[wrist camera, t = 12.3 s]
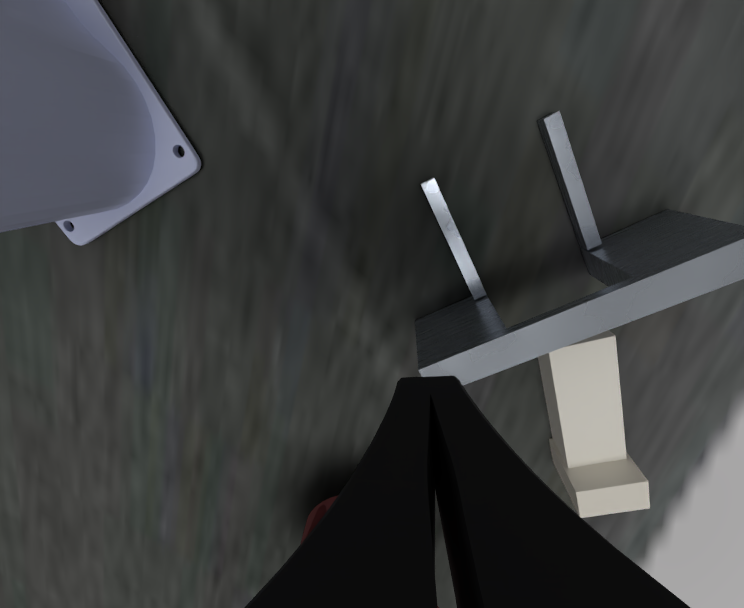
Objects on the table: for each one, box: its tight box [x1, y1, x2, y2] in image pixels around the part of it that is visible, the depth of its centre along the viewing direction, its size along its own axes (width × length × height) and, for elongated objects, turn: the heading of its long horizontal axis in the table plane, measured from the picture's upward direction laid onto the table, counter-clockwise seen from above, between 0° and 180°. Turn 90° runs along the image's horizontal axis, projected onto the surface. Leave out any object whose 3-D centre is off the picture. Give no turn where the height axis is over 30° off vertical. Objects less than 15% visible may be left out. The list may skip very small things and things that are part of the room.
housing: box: [415, 111, 744, 385], centre depth 14 cm, size 7×12×5 cm, turn 118°
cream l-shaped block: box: [538, 330, 650, 518], centre depth 18 cm, size 10×3×4 cm, turn 18°
